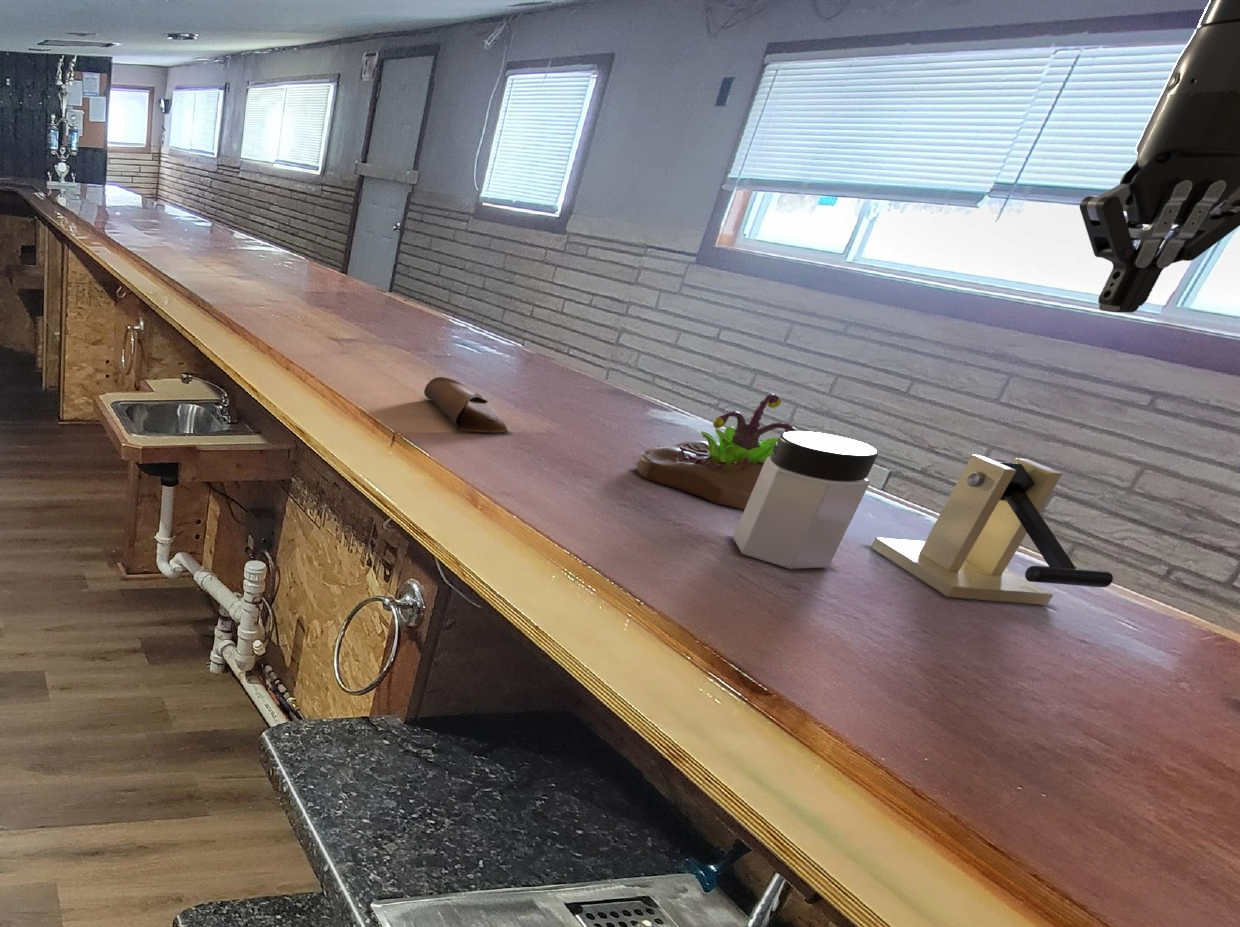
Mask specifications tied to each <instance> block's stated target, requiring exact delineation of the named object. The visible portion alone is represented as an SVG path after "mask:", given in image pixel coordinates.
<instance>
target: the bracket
mask: <svg viewBox="0 0 1240 927" xmlns="http://www.w3.org/2000/svg"><path fill="white" fill-rule="evenodd" d="M998 462H999V461H996V460H994V459H991V458H989V457H986V456H985V455H980V454H972V455H971V456H970V459H969V460H968V461H967V464H966V465H965V467H964V470H963V471H962V473H961V475H960V477H959V478H958V481H957V482H956V484H955V486H954V488H953V490H952V492H951V493H950V495H949V497H948V499H947V500H946V503H945V504H944V506H943V508H942V510H941V512H940V514H939V516H938V518H937V519H936V521H935V523H934V525H933V526H932V529H931V531H930V533H929V534H928V536H927V537H926V540H925V541H923V540H913V539H912V540H911V539H898V538H888V537H887V538H886V537H875V538H874V540H873V542H872V544H871V546H870V548H871V549H872V550H874V551H875V552H877V553H878V554H880V555H882V556H883V557H885V558H887V559H888V560H890V561H891V562H893V563H894V564H896V565H897V566H898V567H900V568H902V569H903V570H905V571H907V572H908V573H910V575H913V576H915V577H916V578H917V579H919V580H920V581H922V582H923V583H924V584H927V585H928V586H930V587H931V588H933V589H935V591H937V592H939V593H940V594H942V595H943V596H945V597H946V598H956V599H967V600H977V601H979V600H980V601H990V602H1002V603H1016V604H1028V605H1038V606H1039V605H1040V606H1047V605H1048V604H1049V603H1050V601H1051V599H1052V598H1053V596H1054V594H1053V593H1051V592H1050V591H1048V590H1046V589H1044V588H1042V586H1039V585H1037V584H1036V583H1035V582H1030V581H1028V580H1027V579H1026V578H1025V577H1023V576H1021V575H1020V574H1018V573H1016V572H1014V571H1012V570H1010V569H1009V568H1008V566H1009V564H1010V563H1011V560H1012V559H1013V557H1014V555H1015V554H1016V553H1017V550H1018V549H1019V547H1020V546H1021V544H1022V542H1023V540H1024V539H1025V537H1026V536H1027V535H1028V533H1027V532H1026V530H1025V529H1024V527H1023V525H1022V524H1021V522H1020V521H1019V519H1018V518H1017V516H1016V515H1015V513H1014V511H1013V510H1012V508H1011V507H1010V505H1009V504H1008V502H1007V501H1003V500H1000V498H1001V497H1002V495H1003V493H1004V491H1005V490H1006V488H1007V486H1008V484H1009V483H1010V481H1011V479H1012V477H1013V476H1014V474H1015V472H1016V470H1015V469H1012V468H1010V467H1008V466H1005V465H1003V464H1001V463H998ZM1013 463H1017V464H1022V465H1023V467H1024V468H1025V470H1026V471H1027V473H1028V474H1029V476H1030V477H1031V479H1032V480H1033V482H1034V483H1035V484H1034V485H1033V486H1032V487H1031V488H1030V489H1029V490H1027V491H1026V494H1027V495H1028V497H1029V498H1030V500H1031V501H1032V503H1033V504H1034V506H1035V507H1036V509H1037V510H1038V512H1039V513H1040V512H1041V511H1042V509H1043V507H1044V505H1045V504H1046V502H1047V500H1048V499H1049V497H1050V495H1051V494H1052V492H1053V491H1054V490H1055V488H1056V485H1057V484H1058V482H1059V480H1060V479H1061V478H1062V476H1063V473H1062V472H1060V471H1057V470H1055V469H1053V468H1050V467H1047V466H1045V465H1043V464H1040V463H1038V462H1036V461H1033V460H1030V459H1028V458H1022V457H1016V458H1015V459H1014V460H1013Z"/></svg>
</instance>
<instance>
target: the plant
mask: <svg viewBox="0 0 1240 927" xmlns="http://www.w3.org/2000/svg"><path fill="white" fill-rule="evenodd" d="M781 403H782V398H781V396H780V395H779V394H776V393H770V394H767V395H766V396H765V398H764V399H763V400H761V401H760V402H759V405H758V406H756V407H755V410H754V411H753V413H752V415H751V416H750V417H749V421H748V423H747V422H746V420H747V419H746V418H745V417H746V416H745V415H744V414H743V413H742V412H740V411H738V410H733V411H730V412H728V413H725V414H723V415H719V416H717V417H716V418H714V420H713V422H712V425H713V427H714V432H715V434H716V436H717V437H718V440H719V442H717V440H716V439H715V438H714V437H713V435H711V434H710V433H708V432H705V431H703V430H700V434H701V435H702V437H703V438H705V439H706V441H705V440H688V441H684V442H681V443H678V444H675V445H657V446H656V447H647V448H646V449H645V451H644V454H641V455H640V456H639V459H638V462H637V465H636V471H637V473H638V474H639V475H640V476H641V477H643V478H645V479H646V480H648V481H650V482H653V483H656V484H659V485H664V486H667V487H670V488H675V489H678V490H680V491H683V492H687V493H689V494H693V495H694V496H698V497H700V498H702V499H704V500H707V501H709V502H712V503H713V504H717V505H721V506H726V507H730V508H734V509H738V510H743V511H744V510H745V508H746V505H747V503H748V500H749V498H750V496H751V493H752V491H753V489H754V486H755V484H756V481H757V479H758V477H759V474H760V472H761V470H762V467H763V465H764V463H765V460H766V458H767V457H768V456H772V453H773V449H774V446H775V444H776V443H777V442H778V439H779V437H771V438H767V439H765V440H763V441H760V440H759V439H760V437H761V435H762V436H763V435H764V434H765V433H767V432H770V431H772V430H775V429H783V430H784V433H785V432H791V431H798V429H797V428H795V427H794V425H792V424H791V425H790V424H789V423H784V422H772V423H770V424H766V425H764V426H762V427H760V426H761V423H760V421H761V420H762V415H763V414H764V410H765V408H767V407H769V408H771V409H774V408H777V407H779V406H780V405H781ZM730 417H735V418H736V428H734V427H733V426H732V425H730V426H729V425H728V426H727V427H725V429H724V432H723V431H721V430H720V428H723V427H724V426H725V425H726V423H727V422H728V420H729V418H730Z"/></svg>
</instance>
